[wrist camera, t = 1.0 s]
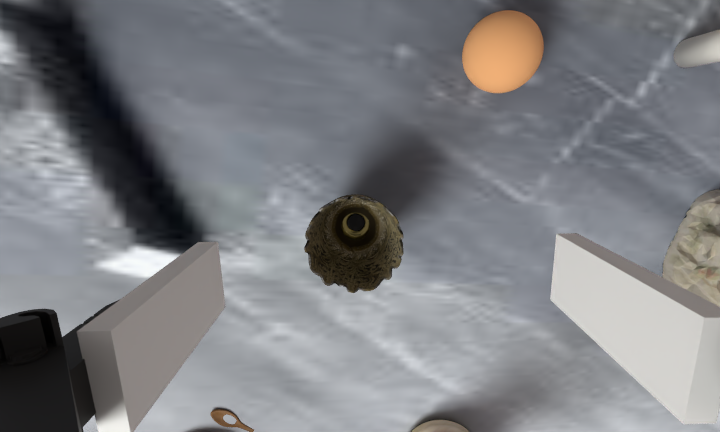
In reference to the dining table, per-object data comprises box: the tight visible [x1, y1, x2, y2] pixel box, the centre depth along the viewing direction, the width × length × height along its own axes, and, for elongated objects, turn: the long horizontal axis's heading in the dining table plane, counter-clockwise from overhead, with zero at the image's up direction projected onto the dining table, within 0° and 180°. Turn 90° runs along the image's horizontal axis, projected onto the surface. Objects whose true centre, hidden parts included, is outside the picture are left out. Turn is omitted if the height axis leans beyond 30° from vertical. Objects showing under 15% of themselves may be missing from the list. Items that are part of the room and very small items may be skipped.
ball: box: [462, 10, 544, 93], centre depth 31 cm, size 6×6×6 cm
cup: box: [304, 194, 403, 293], centre depth 33 cm, size 8×7×8 cm
